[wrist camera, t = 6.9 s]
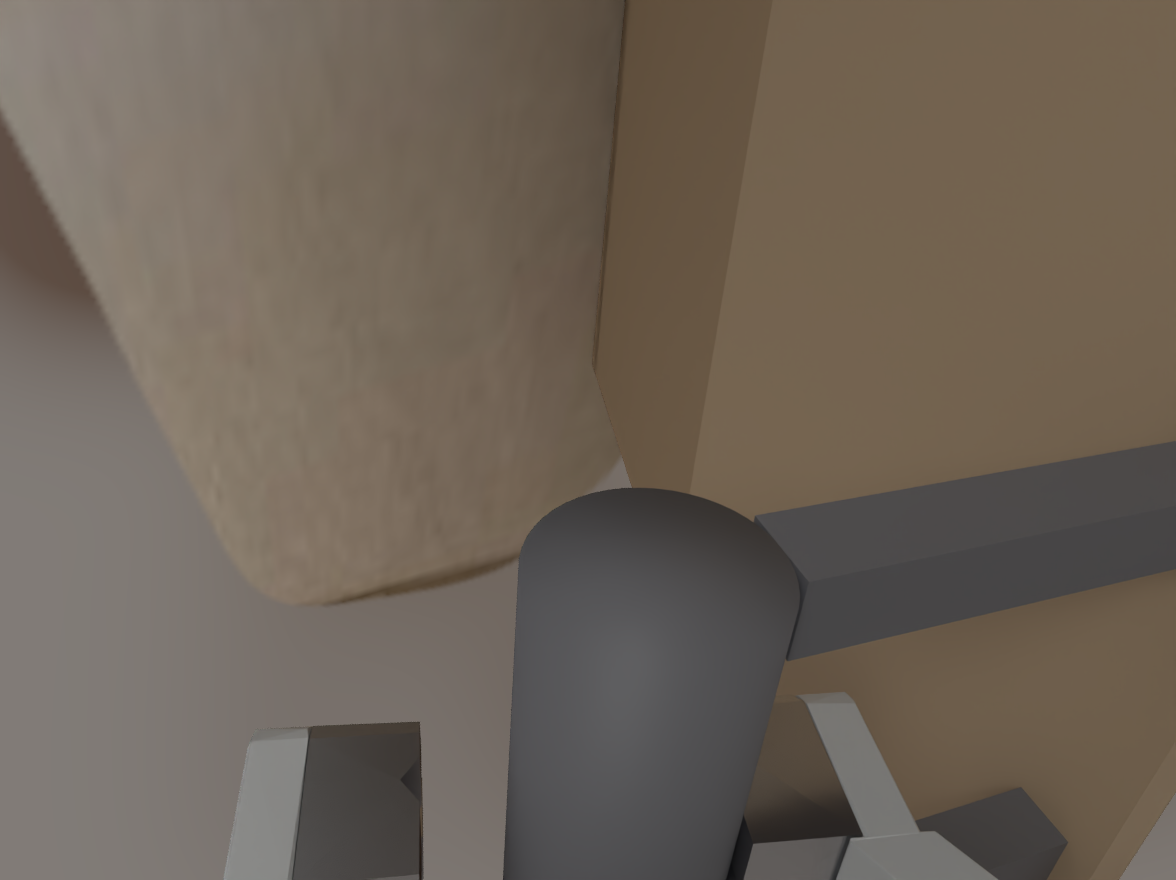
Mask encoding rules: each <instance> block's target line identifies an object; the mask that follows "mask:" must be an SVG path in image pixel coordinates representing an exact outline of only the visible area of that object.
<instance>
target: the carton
mask: <svg viewBox="0 0 1176 880" xmlns="http://www.w3.org/2000/svg"><path fill="white" fill-rule="evenodd" d="M772 1H773V0H625V8H624V19H623V30H622V41H621V52H620V63H619V74H618V85H617V96H616V107H615V118H614V129H613V140H612V151H611V162H610V173H609V184H608V195H607V206H606V217H605V228H604V239H603V250H602V261H601V272H600V283H599V294H598V305H597V316H596V327H595V338H594V349H593V360H592V365H593V368H594V371H595V374H596V377H597V380H598V383H599V387H600V390H601V393H602V396H603V399H604V402H605V405H606V408H607V411H608V414H609V418H610V421H611V424H612V427H613V430H614V433H615V436H616V439H617V442H618V445H619V449H620V452H621V455H622V458H623V461H624V464H625V467H626V470H627V473H628V476H629V479H630V483H631V486H632V488H656V489H665V490H672V491H677V492H682V493H687V494H690V488H691V482H692V476H693V470H694V464H695V458H696V452H697V446H698V440H699V434H700V428H701V422H702V416H703V410H704V405H705V399H706V393H707V387H708V381H709V375H710V369H711V363H712V357H713V351H714V345H715V339H716V333H717V327H718V321H719V315H720V310H721V304H722V298H723V292H724V286H725V280H726V274H727V268H728V262H729V256H730V250H731V244H732V238H733V232H734V226H735V220H736V215H737V209H738V203H739V197H740V191H741V185H742V179H743V173H744V167H745V161H746V155H747V149H748V143H749V137H750V131H751V126H752V120H753V114H754V108H755V102H756V96H757V90H758V84H759V78H760V72H761V66H762V60H763V54H764V48H765V42H766V36H767V31H768V25H769V19H770V13H771V7H772Z"/></svg>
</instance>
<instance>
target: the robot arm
mask: <svg viewBox="0 0 1176 880" xmlns="http://www.w3.org/2000/svg"><path fill="white" fill-rule="evenodd" d="M422 806H423V805H422V777H421V737H420V722H400V723H377V724H352V725H351V724H350V725H326V726H313V727H291V728H271V729H256V730H255V732H254V734H253V736H252V738H251V740H250V743H249V745H248V749H247V755H246V760H245V766H244V771H243V776H242V782H241V787H240V792H239V798H238V803H237V808H236V814H235V819H234V825H233V830H232V835H231V841H230V846H229V851H228V857H227V862H226V868H225V873H224V878H223V880H423V807H422ZM726 880H998V879H997V878H996V877H994V876H993V875H992V874H990V873H989V872H988V871H987V870H985V869H984V868H983V867H981V866H980V865H979V864H977V863H976V862H975V861H974V860H972V859H971V858H970V857H968V856H967V855H966V854H964V853H963V852H962V851H961V850H959V849H958V848H957V847H955V846H954V845H953V844H952V843H950V842H949V841H948V840H946V839H945V838H944V837H942V836H941V835H940V834H939V833H937V832H936V831H923V832H920V830H919V828H918V826H917V824H916V822H915V820H914V818H913V816H912V814H911V812H910V810H909V808H908V806H907V804H906V802H905V800H904V798H903V796H902V794H901V792H900V790H899V788H898V786H897V784H896V782H895V780H894V778H893V776H892V774H891V772H890V770H889V769H888V767H887V765H886V763H885V761H884V759H883V757H882V755H881V753H880V751H879V749H878V747H877V745H876V743H875V741H874V739H873V737H872V735H871V733H870V731H869V729H868V727H867V725H866V723H865V721H864V719H863V717H862V715H861V713H860V711H859V709H858V707H857V705H856V703H855V701H854V699H852V698H851V697H850V696H849V695H848V694H847V693H846V692H834V693H819V694H804V695H796V696H793V695H780V696H775V699H774V703H773V707H772V711H771V714H770V718H769V722H768V725H767V729H766V733H765V737H764V740H763V744H762V748H761V752H760V755H759V759H758V763H757V767H756V770H755V774H754V778H753V781H752V785H751V789H750V793H749V796H748V800H747V804H746V808H745V811H744V815H743V819H742V823H741V826H740V830H739V834H738V837H737V841H736V845H735V849H734V852H733V856H732V860H731V864H730V867H729V871H728V875H727V879H726Z"/></svg>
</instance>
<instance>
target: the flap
mask: <svg viewBox="0 0 1176 880" xmlns="http://www.w3.org/2000/svg"><path fill="white" fill-rule="evenodd" d="M518 569H519V570H518V588H517V609H516V629H515V649H514V669H513V670H514V671H513V689H512V709H511V711H512V712H511V729H510V751H509V771H508V790H507V810H506V830H505V831H506V832H505V851H504V871H503V880H726V879H727V875H728V871H729V867H730V864H731V860H732V856H733V852H734V849H735V845H736V841H737V837H738V834H739V830H740V826H741V823H742V819H743V815H744V811H745V808H746V804H747V800H748V796H749V793H750V789H751V785H752V781H753V778H754V774H755V770H756V767H757V763H758V759H759V755H760V752H761V748H762V744H763V740H764V737H765V733H766V729H767V725H768V722H769V718H770V714H771V711H772V707H773V703H774V699H775V696H780V695H793V696H796V695H804V694H819V693H834V692H846V693H847V694H848V695H849V696H850V697H851V698H852V699H854V701H855V703H856V705H857V707H858V709H859V711H860V713H861V715H862V717H863V719H864V721H865V723H866V725H867V727H868V729H869V731H870V733H871V735H872V737H873V739H874V741H875V743H876V745H877V747H878V749H879V751H880V753H881V755H882V757H883V759H884V761H885V763H886V765H887V767H888V769H889V770H890V772H891V774H892V776H893V778H894V780H895V782H896V784H897V786H898V788H899V790H900V792H901V794H902V796H903V798H904V800H905V802H906V804H907V806H908V808H909V810H910V812H911V814H912V816H913V818H914V820H915V822H916V824H917V826H918V828H919V830H920V832H923V831H936V832H937V833H939V834H940V835H941V836H942V837H944V838H945V839H946V840H948V841H949V842H950V843H952V844H953V845H954V846H955V847H957V848H958V849H959V850H961V851H962V852H963V853H964V854H966V855H967V856H968V857H970V858H971V859H972V860H974V861H975V862H976V863H977V864H979V865H980V866H981V867H983V868H984V869H985V870H987V871H988V872H989V873H990V874H992V875H993V876H994V877H996V878H997V879H998V880H1119V879H1120V877H1121V876H1122V874H1123V873H1124V871H1125V870H1126V868H1127V866H1128V865H1129V863H1130V862H1131V860H1132V858H1133V857H1134V856H1135V854H1136V853H1137V851H1138V850H1139V848H1140V846H1141V845H1142V843H1143V842H1144V840H1145V839H1146V837H1147V836H1148V834H1149V833H1150V831H1151V830H1152V828H1153V827H1154V825H1155V824H1156V822H1157V820H1158V819H1159V817H1160V816H1161V814H1162V813H1163V811H1164V810H1165V808H1166V806H1167V805H1168V804H1169V802H1170V801H1171V799H1172V797H1173V796H1174V794H1175V793H1176V0H773V1H772V7H771V13H770V19H769V25H768V31H767V36H766V42H765V48H764V54H763V60H762V66H761V72H760V78H759V84H758V90H757V96H756V102H755V108H754V114H753V120H752V126H751V131H750V137H749V143H748V149H747V155H746V161H745V167H744V173H743V179H742V185H741V191H740V197H739V203H738V209H737V215H736V220H735V226H734V232H733V238H732V244H731V250H730V256H729V262H728V268H727V274H726V280H725V286H724V292H723V298H722V304H721V310H720V315H719V321H718V327H717V333H716V339H715V345H714V351H713V357H712V363H711V369H710V375H709V381H708V387H707V393H706V399H705V405H704V410H703V416H702V422H701V428H700V434H699V440H698V446H697V452H696V458H695V464H694V470H693V476H692V482H691V488H690V494H687V493H682V492H677V491H672V490H665V489H656V488H621V489H612V490H606V491H600V492H595V493H591V494H588V495H585V496H582V497H578V498H576V499H574V500H571V501H569V502H567V503H565V504H563V505H561V506H559V507H557V508H556V509H554V510H552V511H551V512H550V513H548V514H547V515H546V516H544V517H543V518H542V519H541V520H540V521H539V522H538V523H537V524H536V525H535V526H534V527H533V529H532V530H531V532H530V533H529V534H528V536H527V538H526V540H525V542H524V544H523V546H522V549H521V553H520V557H519V568H518Z"/></svg>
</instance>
